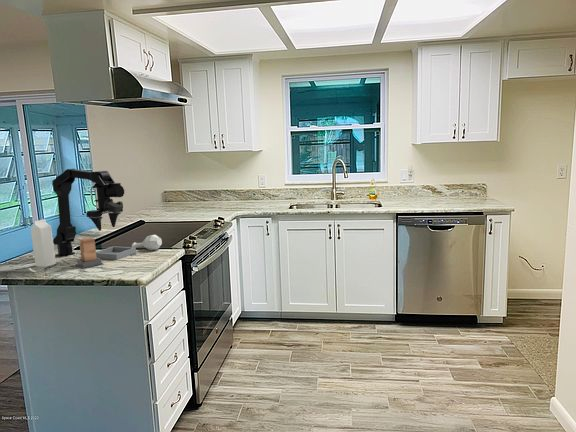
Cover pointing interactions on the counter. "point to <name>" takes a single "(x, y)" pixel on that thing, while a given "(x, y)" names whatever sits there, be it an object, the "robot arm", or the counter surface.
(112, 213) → the robot arm
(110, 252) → the tray
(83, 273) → the counter surface
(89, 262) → the grey square base plate
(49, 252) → the milk
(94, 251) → the block
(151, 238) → the chicken leg
